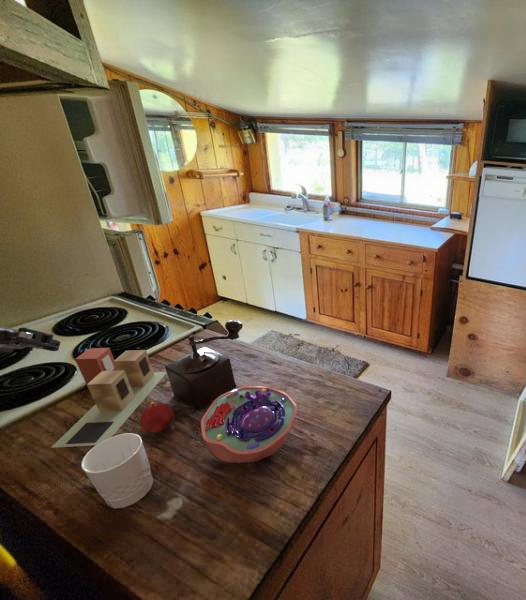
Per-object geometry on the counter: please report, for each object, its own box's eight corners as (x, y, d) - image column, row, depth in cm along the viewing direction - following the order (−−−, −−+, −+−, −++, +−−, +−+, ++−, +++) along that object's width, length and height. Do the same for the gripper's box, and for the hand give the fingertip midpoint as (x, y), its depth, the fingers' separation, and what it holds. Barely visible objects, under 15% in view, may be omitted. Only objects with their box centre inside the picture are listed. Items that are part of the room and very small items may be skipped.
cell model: (267, 400, 81) (261, 363, 76) (316, 445, 69) (312, 405, 64) (193, 441, 69) (180, 400, 64) (237, 503, 57) (224, 459, 53)
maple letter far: (123, 387, 82) (113, 361, 79) (135, 375, 86) (125, 350, 83) (144, 386, 83) (135, 360, 79) (155, 374, 87) (146, 349, 84)
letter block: (86, 384, 83) (74, 359, 80) (100, 373, 87) (89, 348, 84) (107, 384, 83) (96, 358, 80) (120, 372, 88) (110, 347, 84)
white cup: (98, 521, 54) (75, 481, 50) (106, 483, 60) (86, 444, 56) (156, 497, 58) (139, 459, 53) (158, 464, 64) (143, 426, 59)
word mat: (51, 449, 66) (50, 447, 66) (127, 374, 87) (127, 372, 87) (105, 446, 67) (104, 444, 67) (167, 373, 88) (167, 371, 88)
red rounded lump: (138, 437, 69) (126, 409, 66) (162, 418, 74) (152, 390, 71) (161, 443, 68) (150, 415, 65) (183, 423, 73) (174, 395, 70)
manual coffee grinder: (200, 413, 76) (181, 349, 68) (172, 396, 80) (152, 334, 73) (255, 377, 88) (245, 319, 81) (229, 364, 93) (216, 308, 85)
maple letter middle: (99, 412, 74) (86, 384, 71) (113, 397, 79) (102, 370, 75) (122, 411, 75) (111, 383, 72) (135, 396, 79) (125, 370, 76)
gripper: (-3, 304, 54) (77, 328, 70) (-102, 305, 53) (2, 330, 68) (-20, 348, 52) (67, 363, 67) (-124, 351, 50) (-11, 366, 65)
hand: (34, 347), depth 67 cm, fingers open, 8 cm apart
